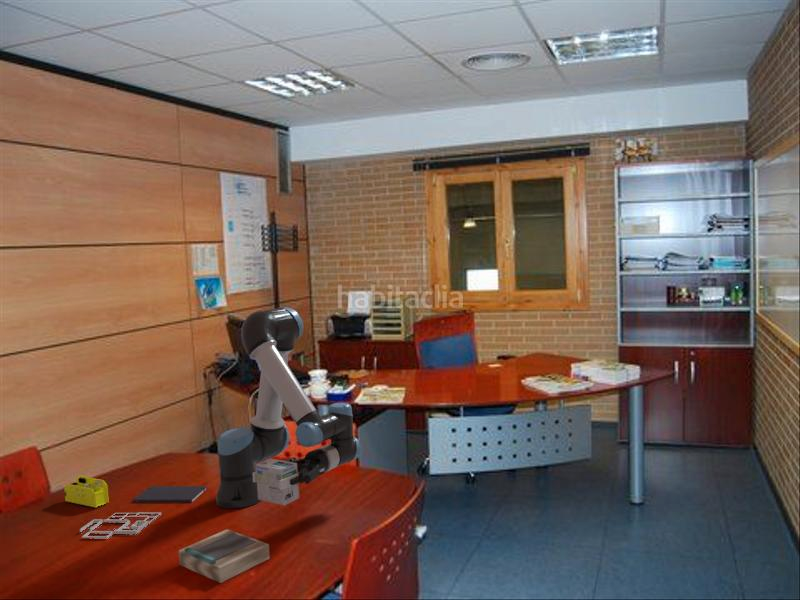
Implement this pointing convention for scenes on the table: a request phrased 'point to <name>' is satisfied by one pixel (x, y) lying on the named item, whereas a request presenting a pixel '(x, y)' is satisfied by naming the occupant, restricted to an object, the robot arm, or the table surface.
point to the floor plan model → (119, 531)
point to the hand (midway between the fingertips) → (266, 481)
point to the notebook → (170, 494)
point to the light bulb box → (276, 481)
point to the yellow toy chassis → (87, 492)
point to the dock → (224, 555)
